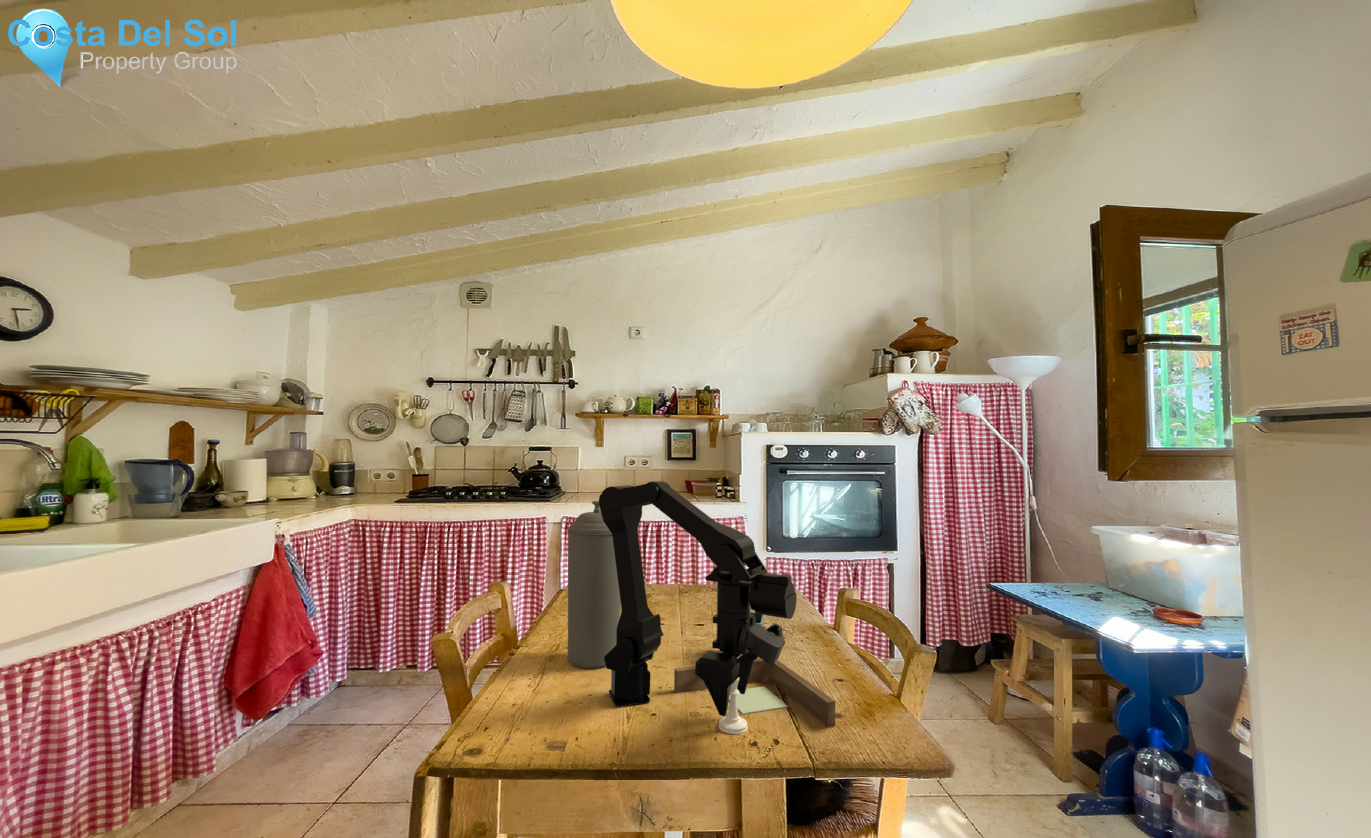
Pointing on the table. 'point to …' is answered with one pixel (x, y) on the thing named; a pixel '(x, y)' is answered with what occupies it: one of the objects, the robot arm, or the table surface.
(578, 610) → the canister
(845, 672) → the table surface
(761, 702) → the pad
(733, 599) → the robot arm
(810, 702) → the corner wall
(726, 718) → the chess piece
